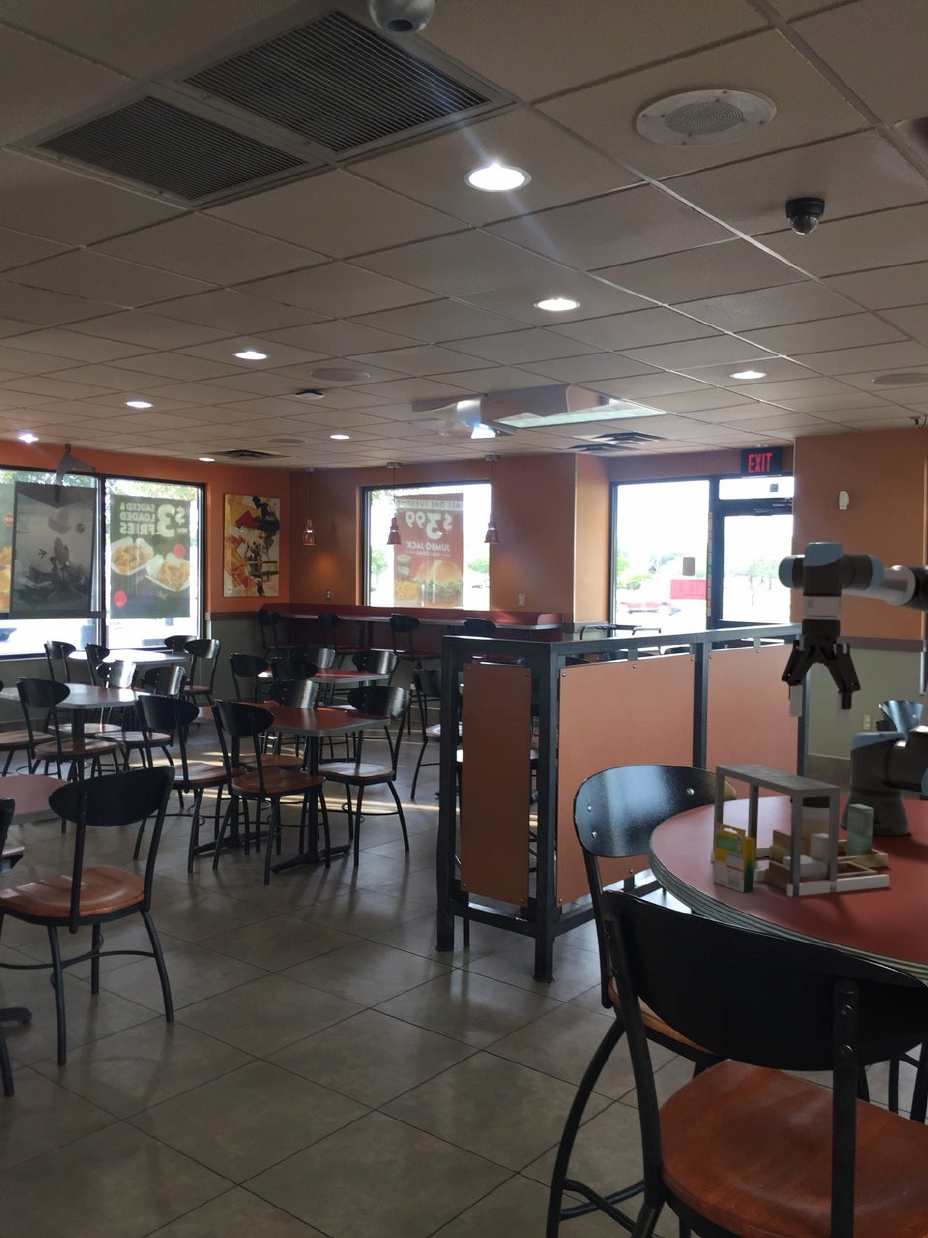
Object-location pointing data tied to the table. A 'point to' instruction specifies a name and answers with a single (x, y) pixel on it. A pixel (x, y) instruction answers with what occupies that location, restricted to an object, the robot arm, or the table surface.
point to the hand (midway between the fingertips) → (818, 721)
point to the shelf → (798, 790)
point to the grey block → (807, 866)
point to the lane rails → (824, 885)
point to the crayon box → (734, 858)
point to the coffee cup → (814, 816)
